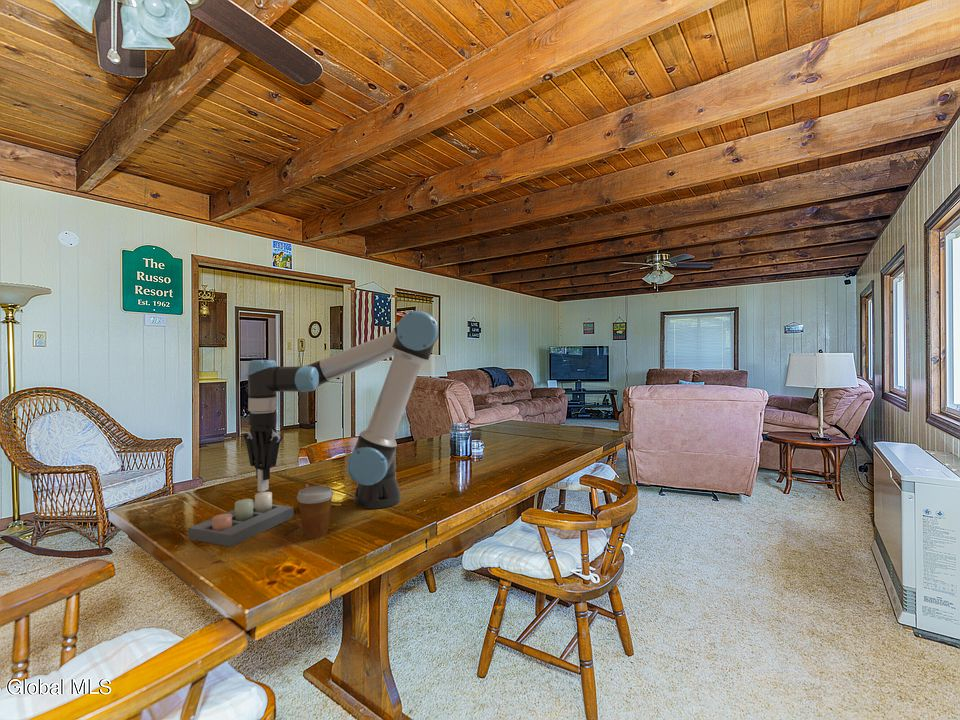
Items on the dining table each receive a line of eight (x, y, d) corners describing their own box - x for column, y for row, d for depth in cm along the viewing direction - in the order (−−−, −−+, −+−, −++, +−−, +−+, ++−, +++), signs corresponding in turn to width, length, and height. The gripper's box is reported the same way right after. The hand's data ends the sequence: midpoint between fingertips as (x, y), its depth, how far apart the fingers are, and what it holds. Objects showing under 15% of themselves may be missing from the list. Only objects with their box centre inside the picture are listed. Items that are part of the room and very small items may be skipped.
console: (293, 517, 135) (293, 507, 135) (230, 546, 114) (230, 535, 114) (255, 511, 140) (255, 501, 140) (188, 538, 120) (188, 527, 119)
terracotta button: (236, 532, 122) (235, 514, 122) (221, 539, 118) (221, 520, 118) (223, 530, 124) (223, 512, 124) (208, 537, 119) (208, 518, 119)
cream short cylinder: (275, 509, 135) (275, 492, 135) (263, 514, 131) (263, 497, 131) (263, 507, 137) (263, 491, 137) (251, 512, 132) (251, 495, 132)
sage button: (256, 517, 129) (256, 499, 129) (243, 522, 124) (243, 504, 124) (244, 515, 130) (244, 498, 130) (231, 520, 126) (230, 503, 126)
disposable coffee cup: (297, 543, 116) (296, 498, 116) (296, 530, 125) (296, 487, 125) (335, 537, 120) (335, 493, 120) (332, 525, 129) (331, 483, 128)
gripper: (289, 411, 135) (289, 488, 135) (256, 409, 139) (256, 484, 139) (269, 414, 128) (270, 496, 128) (235, 412, 132) (236, 491, 132)
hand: (263, 490), depth 134 cm, fingers closed
